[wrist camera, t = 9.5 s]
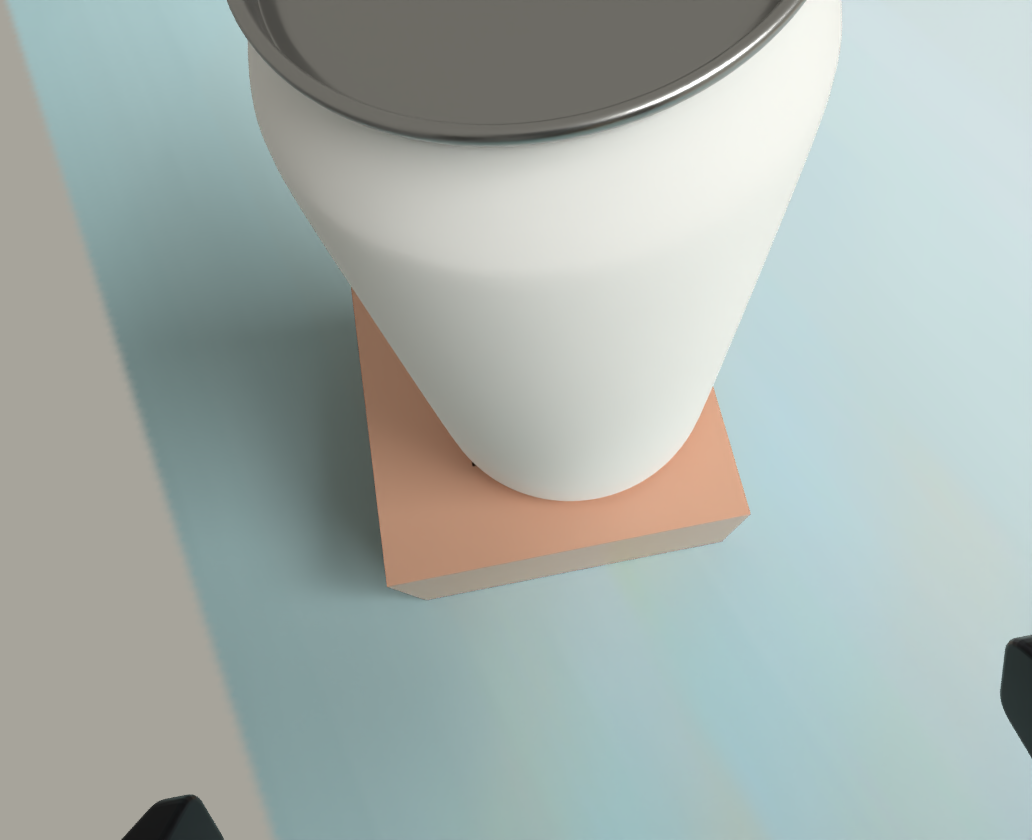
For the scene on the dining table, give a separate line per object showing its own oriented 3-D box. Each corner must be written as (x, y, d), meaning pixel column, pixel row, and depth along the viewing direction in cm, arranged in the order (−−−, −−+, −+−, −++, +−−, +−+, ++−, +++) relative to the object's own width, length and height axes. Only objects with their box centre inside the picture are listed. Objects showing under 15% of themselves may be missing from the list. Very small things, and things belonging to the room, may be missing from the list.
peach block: (721, 541, 20) (750, 514, 16) (426, 600, 20) (386, 586, 17) (649, 279, 23) (659, 203, 19) (390, 334, 23) (349, 271, 19)
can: (471, 246, 19) (285, -353, 8) (720, 276, 18) (924, -367, 7) (412, 480, 17) (58, 142, 6) (686, 529, 16) (889, 231, 5)
